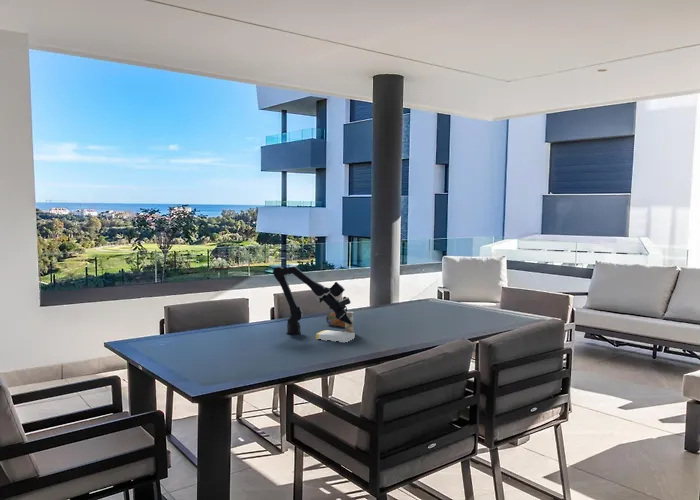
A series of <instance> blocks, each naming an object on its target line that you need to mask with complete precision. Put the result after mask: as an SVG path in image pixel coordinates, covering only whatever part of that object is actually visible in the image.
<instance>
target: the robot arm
mask: <svg viewBox="0 0 700 500" xmlns="http://www.w3.org/2000/svg"><path fill="white" fill-rule="evenodd" d="M272 274H273V276H274V278H275V279H276V281H277V282H278V283H279V285H280V287H281V289H282V291H283V294H284V296H285V299H286V302H287V304H288V307H289V312H290V313H289V314H290V316H289V318H288V319H287V322H286V323H287V324H286V325H287V330H286V331H287V332H286V333H289V334H288V335H293V334H296V335H298V333H299V334H301V333H302V332H301V325H300V322H299V321H300V320H302V318H303V315H304V314H303V313H304V310H303V309H302V305H301V304H299V305H298V303H297V302H296V300H295V297H294V295H293V293H292V290H291V288H290V285H289V284H288V281H287V275H291V274H292V275H294V276H295V277H297V279H299V280H300V281H301V282H303V283H304V284H305V285H306V286H308V287H309V289H311V291H312V292H313V293H314V295H315V296H316V297H319V298H318V299H319V303H320V304H321V303H322V302H324V303H325V304H326V305H327V306H328V308H329V310H331V311H333V312H335V314H336V318H337V319H339V320H341V321H343V322H346V323H348V324H352V322H351V321H350V319H349V318H348V317H347V312H348V307H347V305H350V304H351V300H350V297H346V296H343V297H342V299H341V300H339V299H337V298H338V297H340V296H341V294H343V292H344V291H345V288H344V286H342V285H341V284H339V282H338V281H335V282H334V284H333V285H331V286H330V287H327V286H324V285H323V284H321V283H319V282H317V281H315V280H313V279H312V278H311V277H310V276H308V275H307V274H306V273H304V272H303V271H302V270H300V268H298V267H297V266H295V265H294V266H287V267H286V266H285V267H284V266H281V265H279V266H277V267H275V268H274V269H273V270H272ZM336 297H337V298H336Z"/></svg>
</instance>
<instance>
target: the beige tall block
mask: <svg viewBox="0 0 700 500" xmlns="http://www.w3.org/2000/svg"><path fill="white" fill-rule="evenodd" d="M347 317H348V318H349V319H350V321H351V322H352V324H348V323H346V322H345V327H344V331H343V332H350V333H355V331H354V311H347Z"/></svg>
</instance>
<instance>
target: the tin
mask: <svg viewBox="0 0 700 500" xmlns="http://www.w3.org/2000/svg"><path fill="white" fill-rule="evenodd" d="M326 322H327V324H328V325H329V326H330V325H335V326H334V327H336V326H341V327H340V328H345V322H343V321H341V320H339V319H337V318H336V314H335V312H334V311H333V312H329V313H327V315H326Z"/></svg>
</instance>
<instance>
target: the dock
mask: <svg viewBox="0 0 700 500" xmlns="http://www.w3.org/2000/svg"><path fill="white" fill-rule="evenodd" d="M355 335H356V333H355V332H354V333H350V332H344V331H337V330H330V329H329V330H328V329H324V330H322V331H318V332H317V333H315V340H318V339H321V340H320V341H327V340H331V341H330V342H336V341H339V342H338V343H345V342H347V343H348V341H349V342H351V341H353V340H355V339H354V338H356V336H355ZM352 339H353V340H352ZM350 340H351V341H350Z"/></svg>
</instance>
